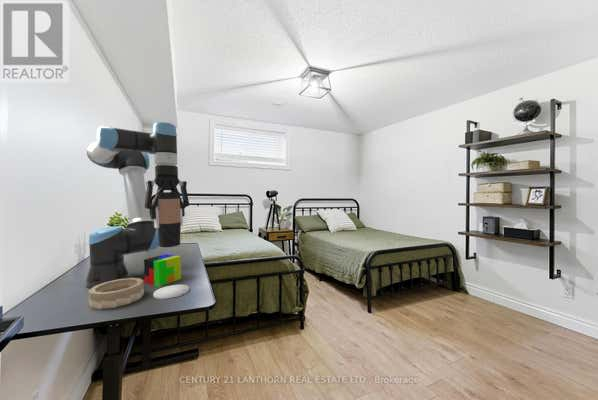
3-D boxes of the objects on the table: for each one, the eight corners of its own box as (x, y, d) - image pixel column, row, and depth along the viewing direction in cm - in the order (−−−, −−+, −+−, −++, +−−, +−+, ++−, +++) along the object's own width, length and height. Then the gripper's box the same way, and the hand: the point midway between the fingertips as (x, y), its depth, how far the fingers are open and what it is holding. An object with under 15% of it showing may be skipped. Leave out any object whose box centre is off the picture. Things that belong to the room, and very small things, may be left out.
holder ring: (86, 300, 89) (85, 286, 89) (136, 287, 101) (135, 275, 101) (94, 313, 79) (93, 297, 79) (149, 297, 90) (148, 284, 90)
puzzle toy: (166, 275, 115) (165, 254, 115) (181, 278, 111) (180, 256, 110) (144, 282, 107) (143, 259, 106) (159, 286, 102) (158, 262, 102)
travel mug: (172, 248, 90) (171, 192, 89) (153, 247, 91) (151, 192, 90) (185, 243, 98) (184, 191, 96) (167, 242, 99) (166, 191, 97)
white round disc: (148, 293, 95) (148, 291, 95) (181, 284, 103) (181, 282, 103) (160, 302, 86) (160, 299, 86) (194, 291, 95) (194, 289, 95)
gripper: (137, 162, 84) (140, 230, 84) (197, 166, 99) (200, 224, 99) (131, 164, 89) (134, 229, 89) (189, 167, 104) (191, 223, 104)
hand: (168, 226), depth 94 cm, fingers closed on travel mug, 8 cm apart
